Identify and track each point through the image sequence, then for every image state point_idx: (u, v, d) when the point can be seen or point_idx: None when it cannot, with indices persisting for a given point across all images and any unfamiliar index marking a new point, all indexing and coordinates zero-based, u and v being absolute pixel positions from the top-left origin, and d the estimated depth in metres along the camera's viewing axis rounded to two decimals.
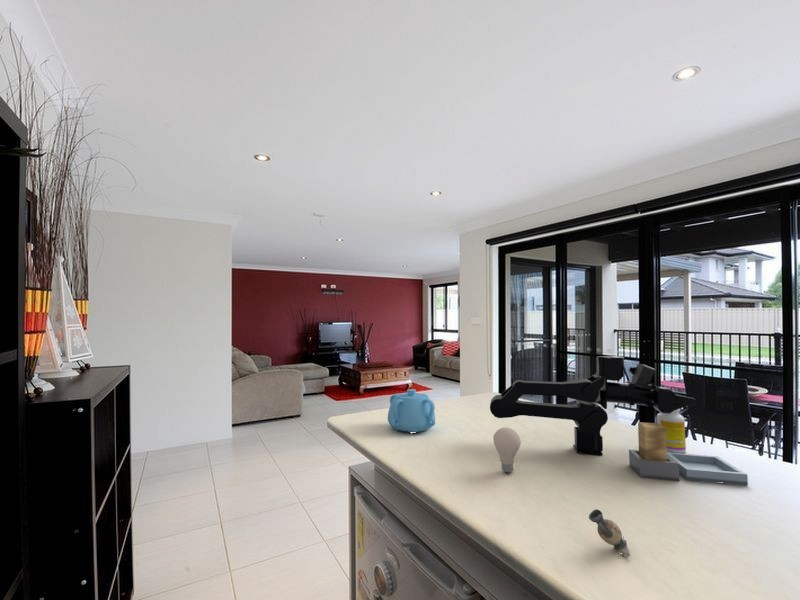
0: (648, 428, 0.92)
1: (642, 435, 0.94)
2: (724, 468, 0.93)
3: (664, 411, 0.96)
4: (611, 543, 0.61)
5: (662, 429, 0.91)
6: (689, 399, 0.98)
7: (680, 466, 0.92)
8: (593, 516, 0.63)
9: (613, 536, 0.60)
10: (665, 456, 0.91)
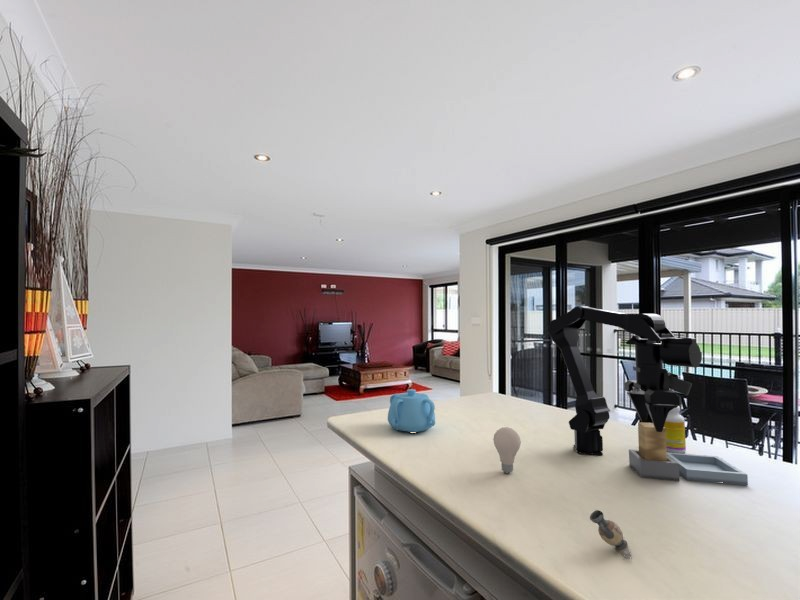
0: (648, 428, 0.92)
1: (642, 435, 0.94)
2: (724, 468, 0.93)
3: (653, 397, 0.86)
4: (612, 544, 0.61)
5: None
6: (661, 425, 0.89)
7: (680, 466, 0.92)
8: (594, 517, 0.63)
9: (614, 537, 0.60)
10: (665, 456, 0.91)
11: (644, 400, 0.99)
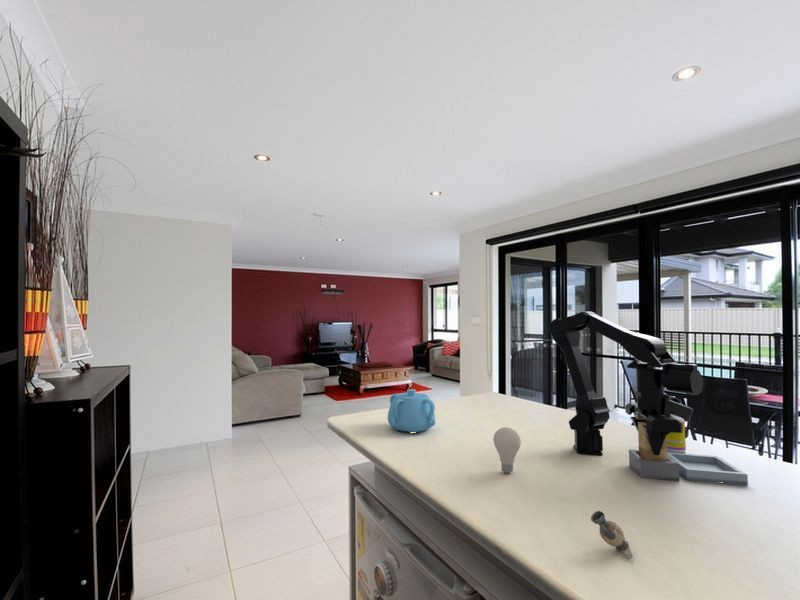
0: None
1: (642, 435, 0.94)
2: (724, 468, 0.93)
3: (654, 424, 0.85)
4: (614, 545, 0.60)
5: None
6: (659, 448, 0.90)
7: (680, 466, 0.92)
8: (595, 518, 0.63)
9: (616, 537, 0.60)
10: (665, 456, 0.91)
11: None
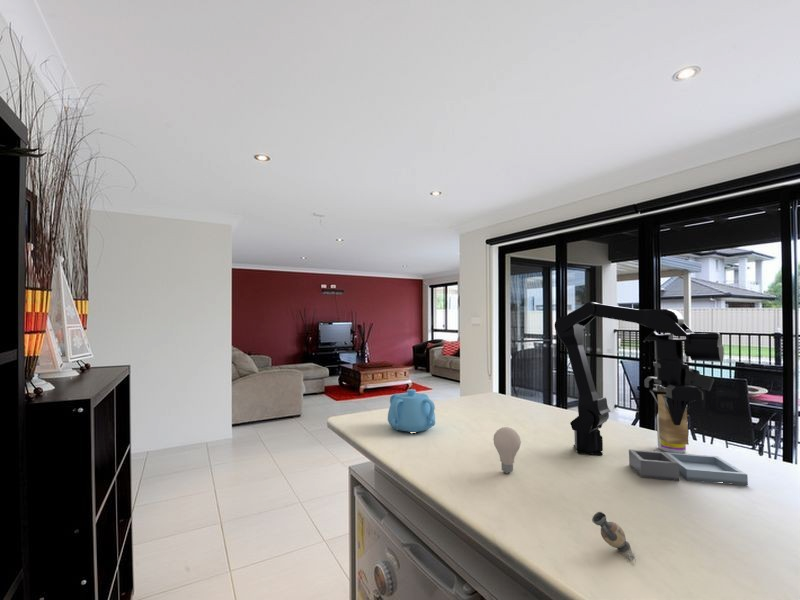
0: None
1: (661, 406, 0.94)
2: (724, 468, 0.93)
3: (674, 392, 0.86)
4: (615, 546, 0.60)
5: None
6: (679, 418, 0.90)
7: (680, 466, 0.92)
8: (596, 519, 0.62)
9: (617, 539, 0.60)
10: (686, 426, 0.91)
11: None
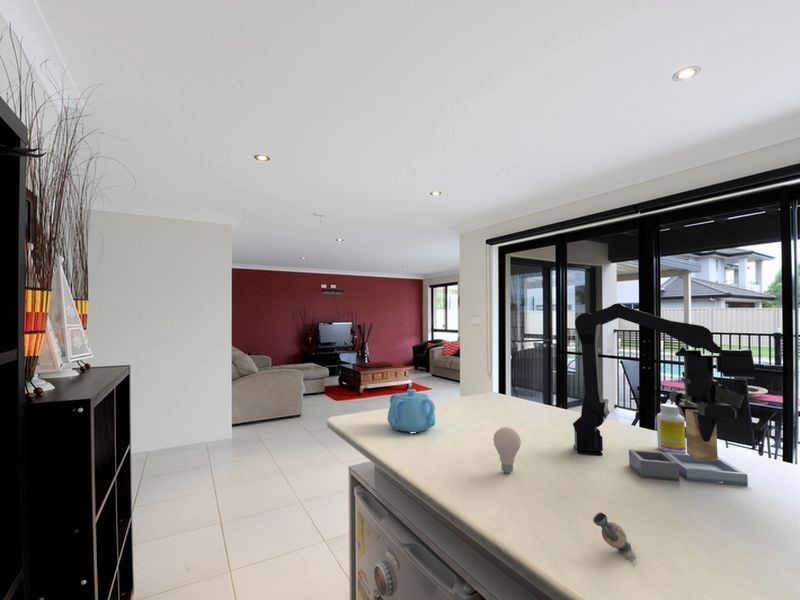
0: None
1: (690, 421, 0.94)
2: (724, 468, 0.93)
3: (707, 410, 0.86)
4: (616, 547, 0.60)
5: None
6: (709, 435, 0.91)
7: (680, 466, 0.92)
8: (597, 520, 0.62)
9: (619, 539, 0.59)
10: (715, 442, 0.91)
11: None
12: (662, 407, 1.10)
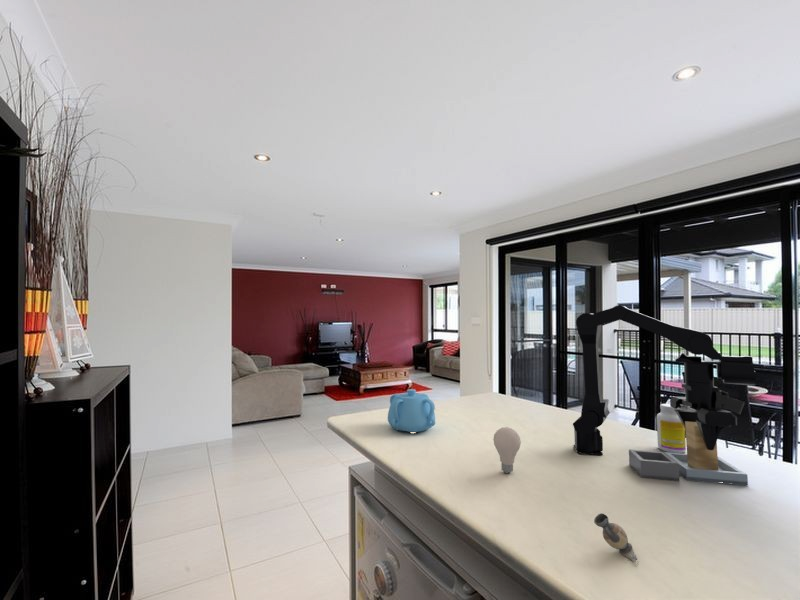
0: (698, 427, 0.92)
1: (690, 434, 0.94)
2: (724, 468, 0.93)
3: (708, 417, 0.86)
4: (618, 547, 0.60)
5: None
6: (713, 443, 0.89)
7: (680, 466, 0.92)
8: (598, 520, 0.62)
9: (620, 540, 0.59)
10: (716, 455, 0.91)
11: (693, 418, 0.98)
12: (662, 407, 1.10)
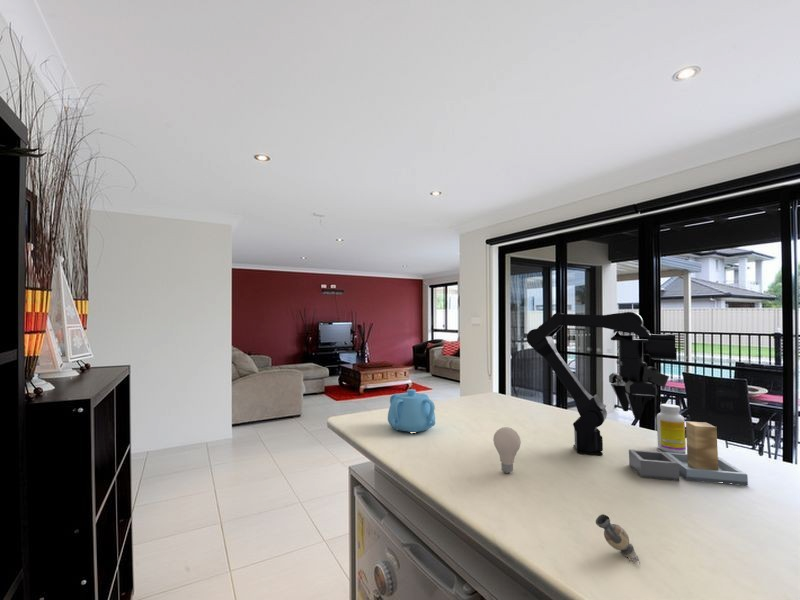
0: (698, 427, 0.92)
1: (691, 434, 0.94)
2: (724, 468, 0.93)
3: (632, 387, 0.95)
4: (619, 548, 0.59)
5: (713, 428, 0.91)
6: (640, 413, 0.97)
7: (680, 466, 0.92)
8: (600, 521, 0.61)
9: (622, 541, 0.59)
10: (716, 455, 0.91)
11: (626, 391, 1.08)
12: (662, 407, 1.10)
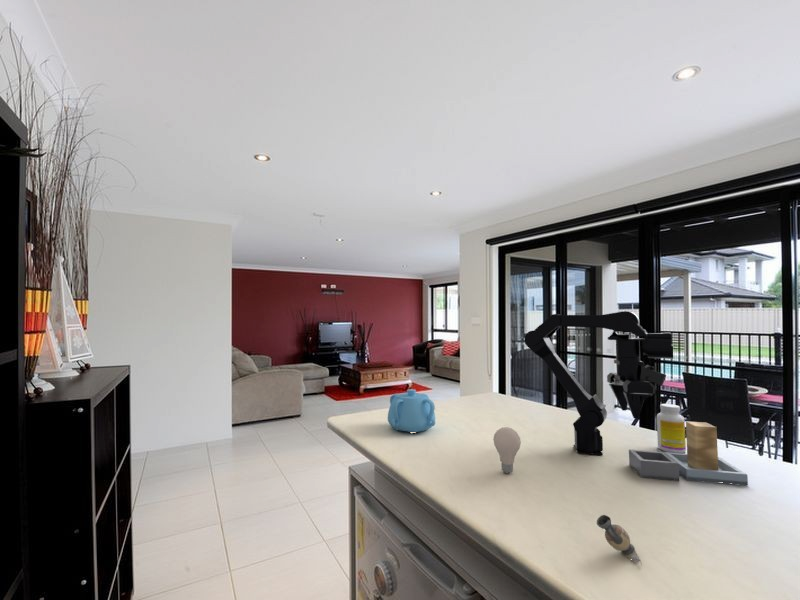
0: (698, 427, 0.92)
1: (691, 434, 0.94)
2: (724, 468, 0.93)
3: (629, 386, 0.95)
4: (620, 549, 0.59)
5: (713, 428, 0.91)
6: (638, 412, 0.98)
7: (680, 466, 0.92)
8: (601, 522, 0.61)
9: (623, 542, 0.59)
10: (716, 455, 0.91)
11: (624, 391, 1.08)
12: (662, 407, 1.10)
